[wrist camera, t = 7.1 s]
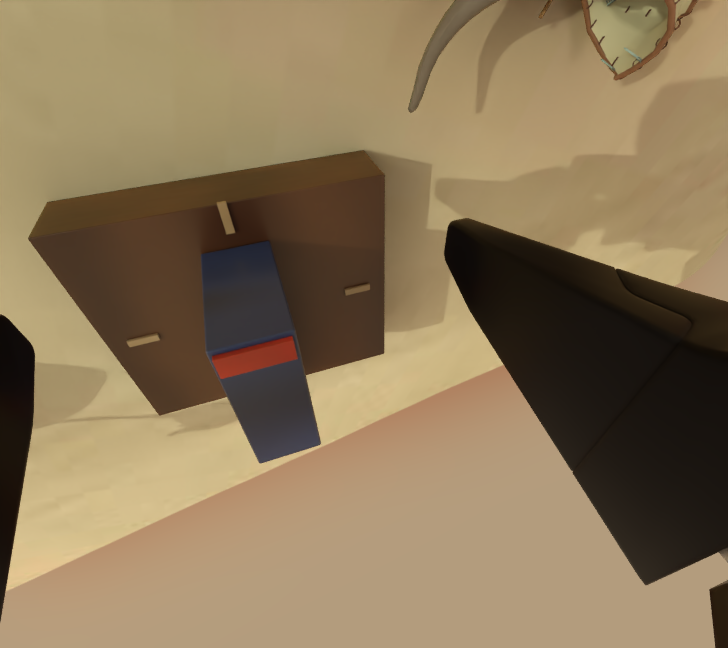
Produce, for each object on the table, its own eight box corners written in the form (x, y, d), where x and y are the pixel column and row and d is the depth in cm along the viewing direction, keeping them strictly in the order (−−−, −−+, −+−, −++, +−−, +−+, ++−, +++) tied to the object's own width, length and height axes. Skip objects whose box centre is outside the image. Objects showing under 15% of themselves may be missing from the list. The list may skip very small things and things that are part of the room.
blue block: (297, 356, 23) (322, 449, 19) (245, 369, 22) (260, 469, 18) (269, 239, 17) (296, 334, 13) (199, 253, 17) (205, 358, 13)
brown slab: (161, 378, 25) (159, 419, 23) (45, 199, 16) (23, 238, 14) (369, 324, 28) (385, 356, 26) (363, 147, 19) (386, 173, 17)
